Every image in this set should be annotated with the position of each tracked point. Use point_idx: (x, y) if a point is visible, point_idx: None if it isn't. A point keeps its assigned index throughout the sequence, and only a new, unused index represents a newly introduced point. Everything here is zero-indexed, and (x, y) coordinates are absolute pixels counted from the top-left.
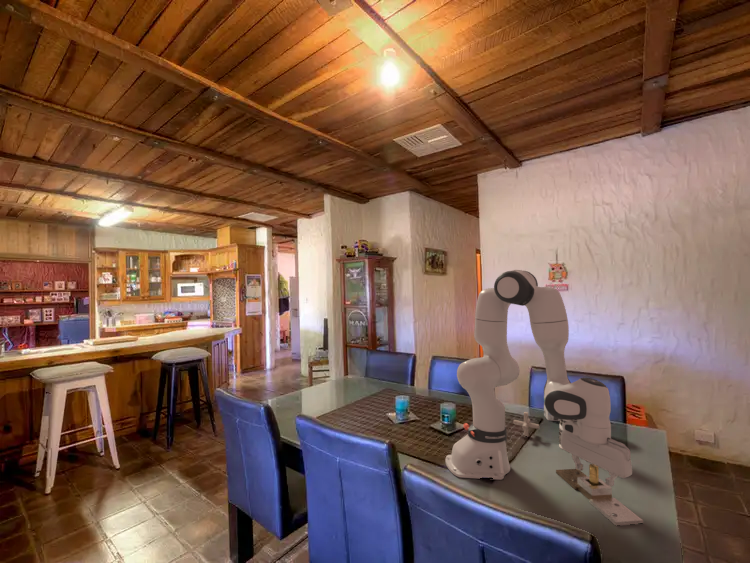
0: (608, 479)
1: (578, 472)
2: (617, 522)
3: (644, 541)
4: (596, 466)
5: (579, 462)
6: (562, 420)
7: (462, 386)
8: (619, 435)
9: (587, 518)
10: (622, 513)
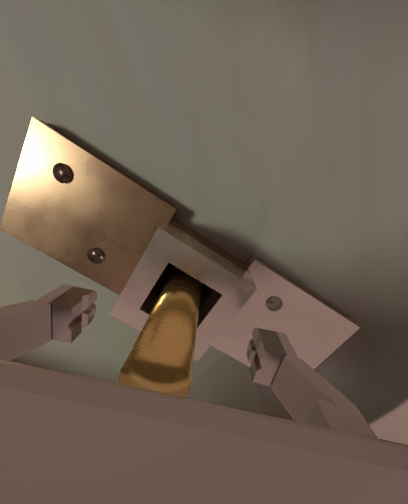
0: (273, 390)
1: (61, 163)
2: None
3: (357, 387)
4: (171, 375)
5: (41, 318)
6: None
7: None
8: None
9: (222, 397)
10: (299, 338)
